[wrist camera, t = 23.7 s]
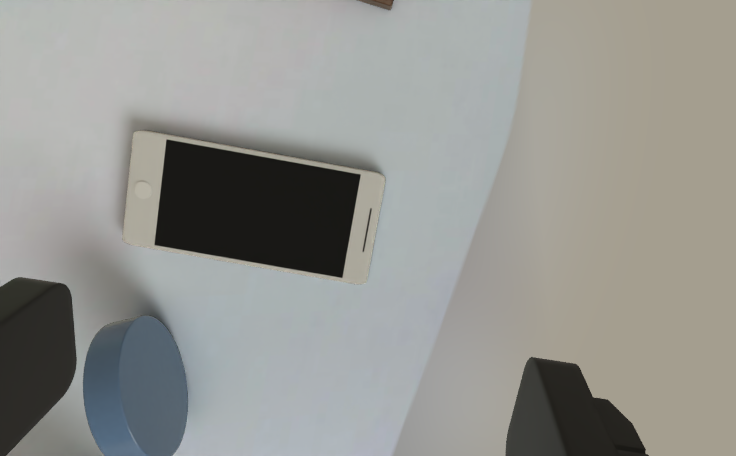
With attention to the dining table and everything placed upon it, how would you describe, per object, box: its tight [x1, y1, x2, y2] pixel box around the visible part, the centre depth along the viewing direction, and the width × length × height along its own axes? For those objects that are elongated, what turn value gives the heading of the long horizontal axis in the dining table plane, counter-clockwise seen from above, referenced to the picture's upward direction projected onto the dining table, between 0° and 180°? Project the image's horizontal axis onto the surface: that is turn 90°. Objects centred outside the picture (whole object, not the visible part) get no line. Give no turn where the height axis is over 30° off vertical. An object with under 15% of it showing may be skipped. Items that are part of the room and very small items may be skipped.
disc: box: [83, 315, 188, 456], centre depth 33 cm, size 2×8×8 cm, turn 14°
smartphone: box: [122, 131, 386, 284], centre depth 35 cm, size 7×15×1 cm, turn 80°
